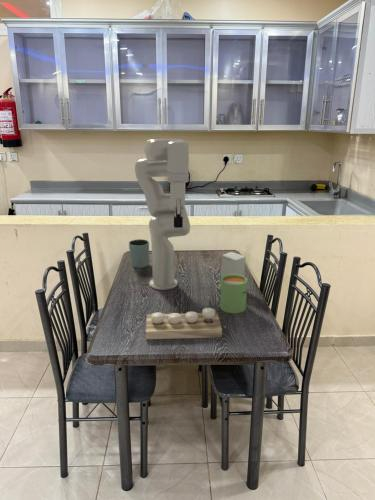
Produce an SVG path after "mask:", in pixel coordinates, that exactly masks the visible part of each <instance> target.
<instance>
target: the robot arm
mask: <svg viewBox="0 0 375 500" xmlns="http://www.w3.org/2000/svg"><path fill="white" fill-rule="evenodd" d="M189 148H190V146H189V142H187V141H185V140H183V139H181V138H155V139H147V140H146V142H145V145H144V154H145V158H140V159H139V160H137V161H136V162H135V165H134V173H135V178H136V180H137V183H138V185H139V186H140V188H141V189H142V191H143V194H144V198H145V201H146V206H147V210H148V213H149V215H150V216H152V217H151V219H149V222H148V229H149V235H150V240H151V263H152V265H151V269H152V279H149V280H150V281H149V283H148V284H149V287H150V288H152V289H154V290H159V291H168V290H172V289H175V288H176V287H177V286H178V283H179V282H178V280H177V279H176V278H175V252H174V251H175V250H174V244H173V243H172V242H171V241H170V240H169V238H175V237H183V236H184V237H185V236H187V235H188V234H189V233H190V231H191V223H190V219H189V216H188V212H187V209H186V183H188V182H189V181H190V179H189V177H190V175H189V174H190V173H189V171H190V169H189V167H190V165H189V163H190V159H189V158H190V152H189V151H190V149H189ZM161 177H162V178H163V177H167V183H170V184H169V194H165V193H164V190H163V189H164V188H163V186H162V185H161V184H160V183H159V182H158V181H157V180H156V179H154V178H161Z"/></svg>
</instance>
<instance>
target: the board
mask: <svg viewBox="0 0 375 500" xmlns="http://www.w3.org/2000/svg"><path fill="white" fill-rule="evenodd" d="M197 313H198V321H197V322H194V324H189V322H187V321H186V320H185V314H186V313H179V314H180V315H181V322H180V323H178V324H171V323H169V321H168V316H169V314H170V313H163V314H164V321H163V322H162V323H161V325H155V323H153V322H152V321H151V315H152V314H153V313H151V314H147V313H146V320H145V321H146V322H145V340H169V339H170V340H171V339H172V340H173V339H205V338H223V337H222V335H223V328H222V325H221V321H220V317H219V313H218V312H215V317H214V318H211V323H206V318H204V317H203V316H202V312H197Z"/></svg>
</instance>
